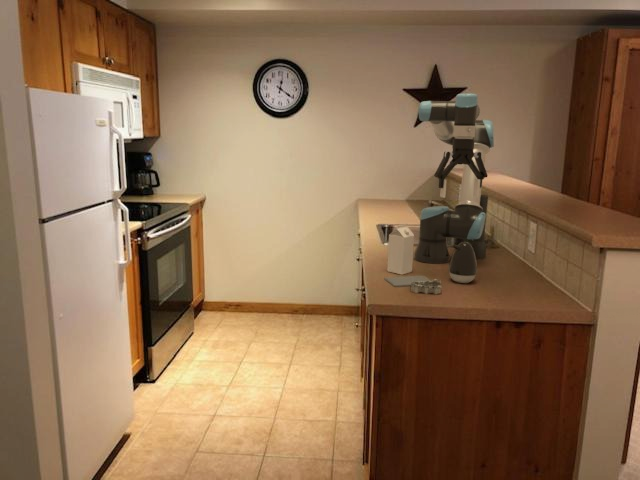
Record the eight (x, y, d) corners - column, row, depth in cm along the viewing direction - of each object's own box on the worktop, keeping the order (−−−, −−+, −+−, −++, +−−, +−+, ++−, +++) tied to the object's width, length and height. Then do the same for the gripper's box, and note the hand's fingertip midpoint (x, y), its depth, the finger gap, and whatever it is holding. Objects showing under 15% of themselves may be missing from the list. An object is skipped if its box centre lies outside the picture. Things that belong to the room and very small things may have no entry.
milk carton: (387, 271, 213) (389, 224, 209) (397, 268, 218) (399, 222, 214) (402, 275, 208) (404, 227, 204) (412, 271, 213) (414, 225, 209)
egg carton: (440, 289, 191) (441, 278, 190) (441, 296, 184) (442, 284, 183) (410, 287, 193) (411, 276, 192) (409, 293, 186) (410, 281, 185)
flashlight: (481, 255, 245) (466, 255, 244) (487, 194, 239) (471, 193, 238) (488, 258, 238) (472, 258, 237) (493, 196, 232) (478, 195, 231)
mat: (423, 277, 206) (423, 275, 206) (435, 284, 196) (435, 283, 196) (384, 279, 202) (384, 277, 202) (394, 287, 192) (394, 285, 192)
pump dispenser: (442, 279, 204) (444, 240, 200) (464, 276, 208) (467, 238, 204) (458, 286, 194) (462, 245, 191) (481, 283, 198) (485, 243, 195)
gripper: (436, 137, 185) (433, 198, 189) (500, 138, 191) (495, 197, 196) (427, 137, 192) (423, 196, 197) (488, 138, 199) (484, 195, 203)
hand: (459, 197), depth 196 cm, fingers open, 13 cm apart
